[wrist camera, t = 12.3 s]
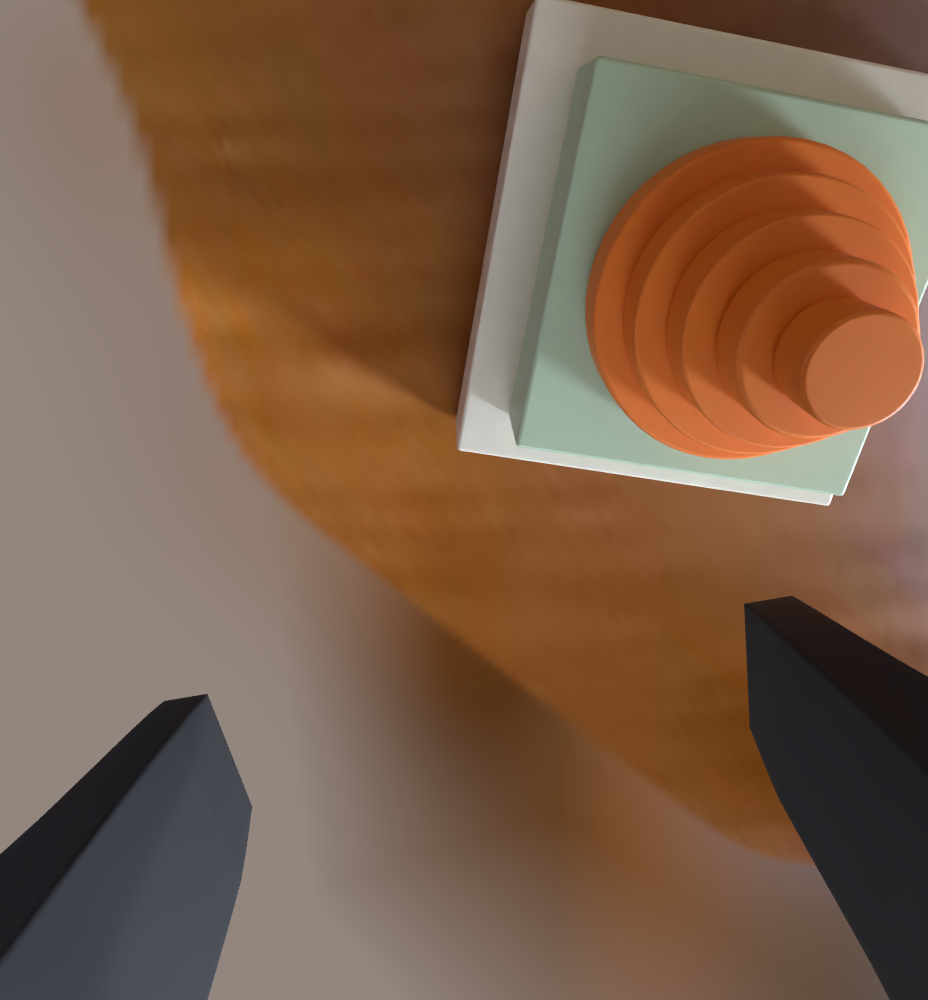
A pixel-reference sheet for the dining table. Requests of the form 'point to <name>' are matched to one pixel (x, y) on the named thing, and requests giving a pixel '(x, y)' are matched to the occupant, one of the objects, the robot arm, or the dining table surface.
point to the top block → (602, 194)
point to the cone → (756, 300)
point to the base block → (534, 165)
